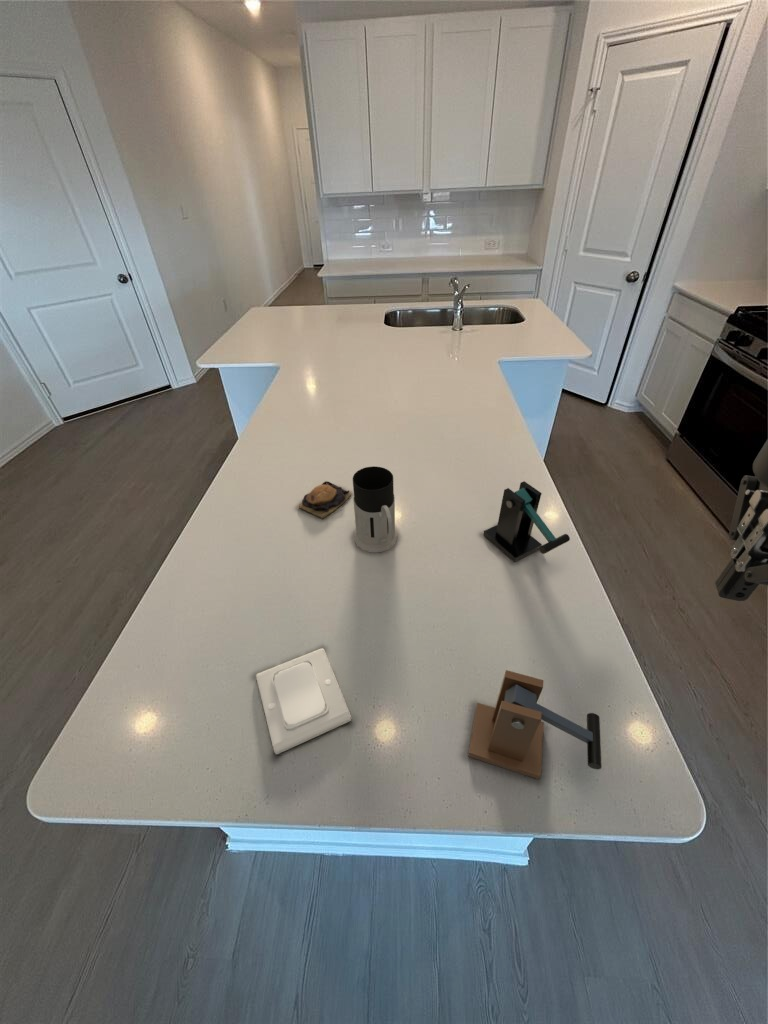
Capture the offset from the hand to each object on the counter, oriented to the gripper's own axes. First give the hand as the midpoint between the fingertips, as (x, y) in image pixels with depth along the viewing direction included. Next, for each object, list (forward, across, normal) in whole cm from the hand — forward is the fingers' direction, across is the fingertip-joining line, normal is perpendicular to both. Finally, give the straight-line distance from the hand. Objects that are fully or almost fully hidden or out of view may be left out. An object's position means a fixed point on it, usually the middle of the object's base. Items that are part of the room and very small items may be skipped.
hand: (728, 593), depth 41 cm
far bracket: (+29, +33, +19) cm, 48 cm away
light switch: (+29, -9, +44) cm, 54 cm away
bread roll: (+29, +34, +60) cm, 75 cm away
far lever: (+21, +30, +16) cm, 40 cm away
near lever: (+21, -6, +11) cm, 25 cm away
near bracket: (+29, -6, +15) cm, 33 cm away
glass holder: (+29, +24, +44) cm, 58 cm away
